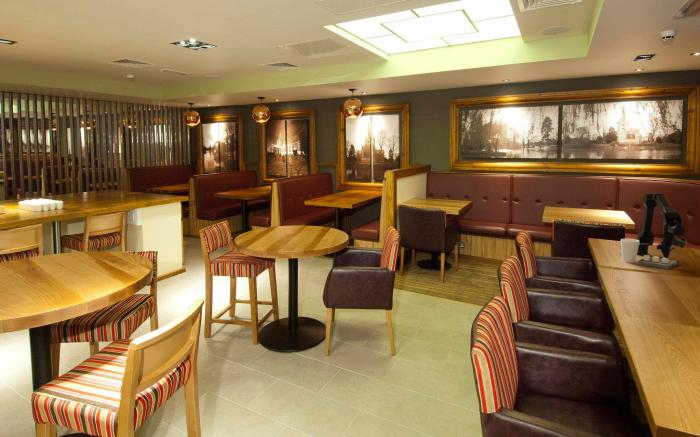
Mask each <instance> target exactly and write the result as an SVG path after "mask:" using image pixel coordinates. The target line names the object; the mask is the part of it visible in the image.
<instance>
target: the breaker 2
mask: <svg viewBox="0 0 700 437" xmlns="http://www.w3.org/2000/svg"><path fill="white" fill-rule="evenodd" d="M661 259H662V263H668V262H669V260H670V257H669V258H664V257H662V258H661Z"/></svg>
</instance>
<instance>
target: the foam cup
mask: <svg viewBox="0 0 700 437" xmlns="http://www.w3.org/2000/svg"><path fill="white" fill-rule="evenodd" d="M635 239H636V238H635ZM635 239H634V238H621V239H620V249H621V261H622V263H623V262H624V263H628V264H629V263H631V264H632V263H635V262H636V259H637V256H638V255H637V251H638V247H639V244H640V241H639V240H635Z"/></svg>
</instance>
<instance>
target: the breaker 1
mask: <svg viewBox="0 0 700 437" xmlns="http://www.w3.org/2000/svg"><path fill="white" fill-rule="evenodd" d="M650 257H651V255H643V258H642V259H643V260H646V261H649V260H650Z"/></svg>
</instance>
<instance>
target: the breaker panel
mask: <svg viewBox="0 0 700 437" xmlns="http://www.w3.org/2000/svg"><path fill="white" fill-rule="evenodd" d="M652 259H653V256H650V260H649V261H646V260H643V258H641V259H639V260H637V265H638V266H639V265H640V266H644V267H650V268H656V269H663V270H670V269H671V268H673V267H674V266H676V265H677V263H678V262H677V260H671V259H669V262H668V263H662V258H659V262H653V261H652Z"/></svg>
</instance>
